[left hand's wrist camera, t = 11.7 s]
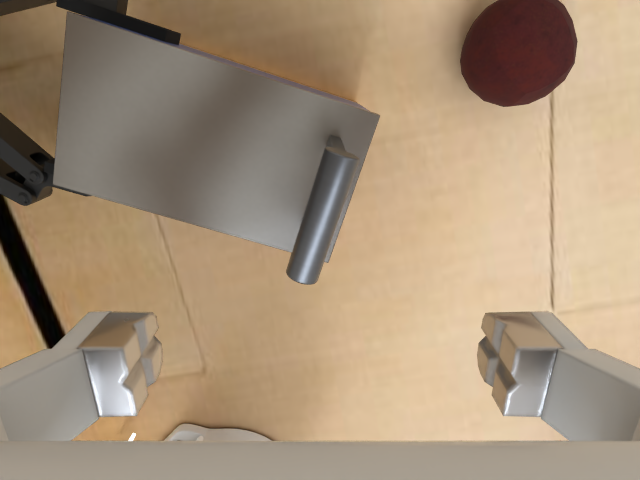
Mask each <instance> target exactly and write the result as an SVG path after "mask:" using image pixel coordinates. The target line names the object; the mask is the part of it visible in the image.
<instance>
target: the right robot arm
mask: <svg viewBox="0 0 640 480" xmlns="http://www.w3.org/2000/svg"><path fill="white" fill-rule="evenodd" d="M54 2H57V3H56V6H57V7H60V8H63V9H66V10H69V11H72V12H75V13H78V14H81V15H84V16H87V17H90V18H94V19H98V20H101V21H104V22H107V23H110V24H113V25H116V26H119V27H122V28H125V29H128V30H131V31H134V32H137V33H140V34H143V35H146V36H149V37H152V38H155V39H158V40H161V41H164V42H168V43H172V44H176V45H179V42H180V36H181V34H180V33H177V32H174V31H171V30H169V29H166V28H163V27H160V26H157V25H154V24H151V23H148V22H145V21H142V20H139V19H136V18H133V17H130V16H127V15H126V10H127V3H128V0H0V16H2V15H6V14H10V13H14V12H18V11H22V10H26V9H30V8H34V7H38V6H42V5H46V4H50V3H54ZM54 164H55V158H53V157H52V156H51V155H49V154H48V153H47V152H46V151H45V150H44V149H42V148H41V147H40V146H39V145H38V144H37V143H35V142H34V141H33V140H32V139H31V138H29V137H28V136H27V135H26V134H25V133H24V132H22V131H21V130H20V129H19V128H18V127H17V126H15V125H14V124H13V123H12V122H11V121H9V120H8V119H7V118H6V117H5V116H4V115H2V114H1V113H0V194H2V195H4V196H6V197H7V198H9V199H11V200H13V201H15V202H17V203H19V204H21V205H24V206H27V205H30V204H32V203H35V202H37V201H39V200H41V199H44V198H46V197H48V196H50V195H51V194H52V191H53V190H52V187H55V188H59V189H62V190H66V191H69V192H73V193H76V194H80V195H83V196H92V195H88V194H85V193H81V192H78V191H74V190H71V189H67V188H64V187H60V186H57V185H53V176H54Z"/></svg>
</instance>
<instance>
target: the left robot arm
mask: <svg viewBox="0 0 640 480" xmlns="http://www.w3.org/2000/svg"><path fill="white" fill-rule="evenodd" d="M158 328H159V326H158V321H157V317H156V315H155V314H154V313H153V312H111V311H94V312H88V313H87V314H86V315H85V316H84V317H83V318H82V319H81V320H80V321H79V322H78V323H77V324H76V325H75V326H74V327H73V328H72V329H71V330H70V331H69V332H68V333H67V334H66V335H65V336H64V337H63V338H62V339H61V340H60V341H59V342H58V343H57V344H56V345H55V346H54V347H53V348H52V349H44V350H42V351H39V352H37V353H35V354H33V355H30V356H28V357H26V358H23V359H21V360H19V361H17V362H14V363H12V364H10V365H8V366H5V367H3V368H1V369H0V480H640V369H639V368H637V367H635V366H632V365H630V364H628V363H626V362H623V361H621V360H619V359H617V358H614V357H612V356H610V355H607V354H605V353H603V352H601V351H598V350H596V349H588V348H587V347H586V346H585V345H584V344H583V343H582V342H581V341H580V340H579V339H578V338H577V337H576V336H575V335H574V334H573V333H572V332H571V331H570V330H569V329H568V328H567V327H566V326H565V325H564V324H563V323H562V322H561V321H560V320H559V319H558V318H557V317H556V316H555V315H554V314H553V313H551V312H548V311H535V312H497V313H485V315H484V317H483V321H482V326H481V328H482V330H483V332H484V333H485V335H486V336H485V337H484V338H483V339H482V340H481V341H480V342H479V345H478V352H477V358H478V367H479V370H480V374H481V376H482V378H483V380H484V382H486V383H487V384H489V385H490V386H492V387H493V390H492V396H493V398H494V400H495V402H496V404H497V405H498V407H499V409H500V411H501V413H502V414H503V416H525V417H541V419H542V420H543V421H545V422H546V423H547V424H549V425H550V426H551V427H552V428H554V429H555V430H556V431H558V432H559V433H560V434H561V435H563V436H564V437H565V438H567V439H568V440H569V441H272V440H270V439H268V438H267V437H265V436H262V435H260V434H257V433H255V432H251V431H247V430H242V429H233V428H223V429H209V428H205V427H201V426H198V425H193V424H181V425H179V426H178V427H177V428H176V429H175V430H174V431H173V432H172V433H171V434H170V435H169V436H168V437H167V438H166V439H165V440H164V441H133V439H134V437H135V435H136V434H135V433H133V434H132V436H131V437H130V439H129V441H71V440H72V439H74V438H75V437H76V436H77V435H79V434H80V433H81V432H83V431H84V430H85V429H86V428H88V427H89V426H90V425H92V424H93V423H94V422H95V421H97V420H98V419H99V417H114V416H137V414H138V413H139V411H140V409H141V407H142V405H143V404H144V402H145V400H146V398H147V396H148V390H147V387H148V386H150V385H151V384H153V383H154V382H156V380H157V378H158V376H159V374H160V370H161V366H162V362H163V351H162V344H161V342H160V341H159V340H158V339H157V338H156V337H155V336H154V335H155V333H156V332H157V330H158Z"/></svg>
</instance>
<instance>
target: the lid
mask: <svg viewBox="0 0 640 480" xmlns="http://www.w3.org/2000/svg"><path fill="white" fill-rule="evenodd" d="M379 118H380V115H378V114H376V113H373V112H370V111H367V110H364V109H361V108H358V107H355V106H352V105H349V104H346V103H343V102H340V101H337V100H334V99H331V98H328V97H325V96H322V95H319V94H316V93H313V92H310V91H307V90H304V89H301V88H298V87H295V86H292V85H289V84H286V83H283V82H280V81H277V80H274V79H271V78H268V77H265V76H262V75H259V74H256V73H253V72H250V71H247V70H244V69H241V68H238V67H235V66H232V65H229V64H226V63H223V62H220V61H217V60H214V59H211V58H208V57H205V56H202V55H199V54H196V53H193V52H190V51H186V50H183V49H180V48H177V47H174V46H171V45H168V44H165V43H162V42H159V41H156V40H153V39H150V38H147V37H144V36H141V35H138V34H135V33H132V32H129V31H126V30H123V29H120V28H117V27H114V26H111V25H108V24H105V23H102V22H99V21H96V20H93V19H90V18H87V17H84V16H81V15H78V14H75V13H71V12H67V20H66V32H65V44H64V56H63V68H62V80H61V92H60V104H59V116H58V128H57V140H56V152H55V164H54V176H53V185H57V186H60V187H64V188H67V189H71V190H74V191H78V192H81V193H85V194H88V195H92V196H95V197H99V198H102V199H106V200H109V201H113V202H116V203H120V204H123V205H127V206H130V207H134V208H137V209H141V210H144V211H148V212H151V213H155V214H158V215H162V216H165V217H169V218H172V219H176V220H179V221H183V222H186V223H190V224H193V225H197V226H200V227H204V228H207V229H211V230H214V231H218V232H221V233H225V234H228V235H232V236H235V237H239V238H243V239H246V240H250V241H253V242H257V243H260V244H264V245H267V246H271V247H274V248H278V249H281V250H285V251H288V252H292V254H291V257H290V260H289V263H288V267H287V270H286V273H287V275H288V277H289V278H291V279H292V280H294V281H296V282H298V283H301V284H307V285H311V284H315V283H316V282H317V280H318V278H319V275H320V272H321V269H322V266H323V263H324V262H327V263H328V262H329V259H330V257H331V254H332V251H333V248H334V245H335V242H336V240H337V237H338V234H339V231H340V228H341V225H342V223H343V220H344V217H345V214H346V211H347V208H348V206H349V203H350V200H351V197H352V194H353V191H354V188H355V186H356V183H357V180H358V177H359V174H360V171H361V169H362V166H363V163H364V160H365V157H366V154H367V152H368V149H369V146H370V143H371V140H372V137H373V135H374V132H375V129H376V126H377V123H378V120H379Z"/></svg>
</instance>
